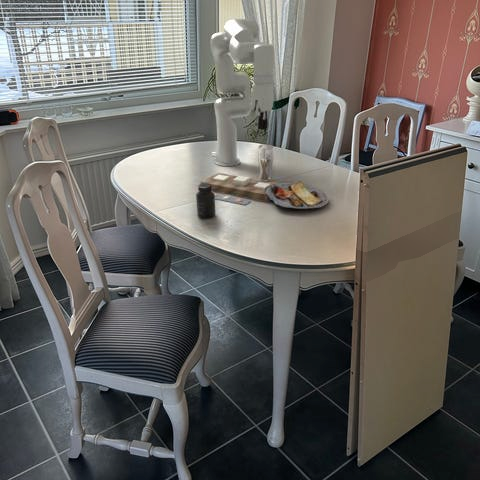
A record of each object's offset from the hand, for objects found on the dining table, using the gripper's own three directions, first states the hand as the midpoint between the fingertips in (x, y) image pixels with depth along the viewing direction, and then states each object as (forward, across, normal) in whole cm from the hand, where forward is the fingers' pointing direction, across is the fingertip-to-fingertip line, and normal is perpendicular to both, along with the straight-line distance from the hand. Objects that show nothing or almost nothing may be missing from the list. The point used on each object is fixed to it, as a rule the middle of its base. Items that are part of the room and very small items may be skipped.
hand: (262, 128), depth 183 cm
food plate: (+26, +1, +16) cm, 31 cm away
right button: (+26, 0, 0) cm, 26 cm away
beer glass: (+27, -17, -7) cm, 33 cm away
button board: (+27, 0, -10) cm, 29 cm away
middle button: (+25, 0, -10) cm, 27 cm away
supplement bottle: (+27, +30, -8) cm, 41 cm away
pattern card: (+27, +12, -10) cm, 31 cm away
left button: (+26, 0, -20) cm, 33 cm away
